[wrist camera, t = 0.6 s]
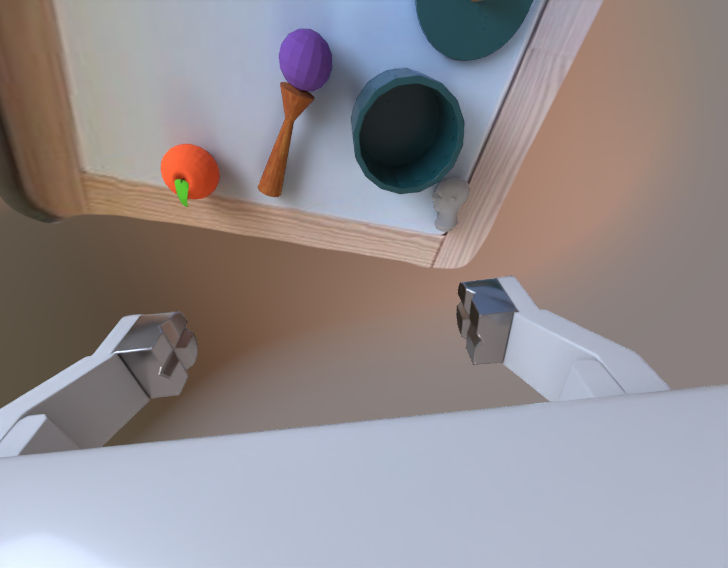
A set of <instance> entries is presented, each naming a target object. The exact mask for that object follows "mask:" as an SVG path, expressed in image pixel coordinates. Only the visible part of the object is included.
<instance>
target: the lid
mask: <svg viewBox="0 0 728 568" xmlns="http://www.w3.org/2000/svg"><path fill="white" fill-rule="evenodd" d="M532 2H533V0H415V5H416V11H417V16H418V20H419V24H420V26H421V28H422V31H423V33H424V35H425V36H426V38H427V40H428V41H429V42H430V43H431V45H432V46H433V47H434V48H435V49H436V50H437V51H439V52H440V53H442V54H443V55H445V56H447V57H449V58H453V59H456V60H464V61H465V60H475V59H480V58H482V57H485V56H487V55H489V54H491V53H493V52H495V51H496V50H498V49H499V48H501V47H502V46H503V45H504V44H505V43H507V42H508V40H509V39H510V38H511V37H512V36H513V35H514V34H515V33H516V31H517V30H518V29H519V27H520V26H521V24H522V23H523V21H524V19H525V17H526V15H527V13H528V11H529V9H530V7H531V4H532Z"/></svg>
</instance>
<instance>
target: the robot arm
mask: <svg viewBox="0 0 728 568" xmlns="http://www.w3.org/2000/svg"><path fill="white" fill-rule="evenodd" d="M458 295H459V297H460V300H461V302H460V303H459V304H458V305H457V313H456V315H457V324H458V328H459V331H460V334H461V336H462V337H463V338H465V339H466V340H467V342H466V349H467V351H468V354H469V356H470V359H471V361H472V363H473V365H478V364H490V363H503V364H504V365H505V366H507V367H508V368H509V369H510V370H512V371H513V372H514V373H515V374H516V375H518V376H519V377H520V378H521V379H523V380H524V381H525V382H526V383H528V384H529V385H530V386H532V387H533V388H534V389H535V390H536V391H538V392H539V393H540V394H542V395H543V396H544V397H545V398H546V399H548V400H549V401H550V402H547V403H537V404H527V405H517V406H507V407H497V408H487V409H479V410H468V411H458V412H448V413H438V414H429V415H418V416H408V417H398V418H388V419H378V420H368V421H358V422H348V423H339V424H328V425H319V426H308V427H299V428H289V429H279V430H269V431H259V432H249V433H239V434H229V435H220V436H210V437H200V438H191V439H181V440H170V441H160V442H150V443H140V444H131V445H121V446H111V447H102V446H103V445H104V444H105V443H106V442H107V441H108V440H109V439H110V438H111V437H112V436H113V435H114V434H115V433H116V432H117V431H118V430H119V429H120V428H122V427H123V425H125V424H126V423H127V422H128V421H129V420H130V419H131V418H132V417H133V416H134V415H135V414H136V413H137V412H138V411H139V410H140V409H141V408H142V407H143V406H144V405H145V404H146V403H147V402H148V401H149V400H150V398H158V397H166V396H173V395H180V393H181V391H182V389H183V386H184V384H185V382H186V380H187V378H188V374H187V372H186V370H187V369H188V368H189V367H191V366H192V365H193V364H194V362H195V360H196V358H197V352H198V344H197V340H196V337H195V335H194V333H192V332H191V331H189V330H188V329H186V328H185V327H186V324H187V320H186V318H185V316H184V315H183V313H181V312H178V311H174V312H162V313H149V314H139V315H129V316H126V317H123V318H122V319H121V320H120V321H119V323H118V324H117V325H116V327H115V328H114V329H113V330H112V331H111V333H110V334H109V335H108V336H107V338H106V339H105V340H104V341H103V343H102V344H101V345H100V346H99V348H98V349H97V350H96V352H95V353H94V354H93V355H92V356H88V357H85V358H83V359H82V360H80V361H78V362H77V363H75V364H73V365H72V366H70V367H69V368H67V369H65V370H64V371H62V372H60V373H59V374H57V375H55V376H54V377H52V378H51V379H49V380H47V381H46V382H44V383H42V384H41V385H39V386H37V387H36V388H34V389H33V390H31V391H29V392H27V393H26V394H24V395H23V396H21V397H19V398H18V399H16V400H14V401H13V402H11V403H9V404H8V405H6V406H5V407H3V408H1V409H0V568H728V384H725V385H715V386H705V387H696V388H686V389H676V390H672V389H670V387H669V386H668V385H667V384H666V383H665V382H664V381H663V380H662V379H661V378H660V377H659V376H658V375H657V374H656V373H655V372H654V370H653V369H652V368H651V367H650V366H649V365H648V364H647V363H646V362H645V361H644V360H643V359H642V358H641V357H640V356H639V355H638V354H637V353H636V352H634V351H632V350H630V349H628V348H626V347H623V346H621V345H619V344H617V343H615V342H613V341H611V340H609V339H606V338H604V337H602V336H600V335H598V334H596V333H594V332H592V331H590V330H587V329H585V328H583V327H581V326H579V325H577V324H575V323H573V322H571V321H568V320H566V319H564V318H562V317H560V316H558V315H556V314H553V313H551V312H549V311H547V310H539V308H538V307H537V306H536V304H535V303H534V302H533V300H532V299H531V298H530V297H529V295H528V294H527V292H526V291H525V290H524V288H523V287H522V286H521V284H520V283H519V282H518V280H517V279H516V278H515V277H513V276H505V277H499V278H494V279H486V280H476V281H467V282H460V284H459V288H458Z"/></svg>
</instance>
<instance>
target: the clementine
mask: <svg viewBox="0 0 728 568" xmlns="http://www.w3.org/2000/svg"><path fill="white" fill-rule="evenodd" d="M161 173H162V178H163V180H164V182H165V184H166V185H167V186H168V187H169V189H171V190H172V191H173V192H174V193H175V194H177V195H178V197H179V199H180V201H181V203H182V204H183V205H184V206H186V207H189V206H187V199H201V198H204V197H206V196H208V195H210V194H211V193H212V192H213V191H214V190H215V189H216V187H217V185H218V183H219V178H220V173H219V168H218V166H217V163H216V161H215V160H214V158H213V157H212V156H211V155H210V154H209V153H208V152H207V151H206V150H204V149H202V148H201V147H198V146H195V145H192V144H182V145H177V146H175V147H173V148H171V149H170V150H169V151H168V152H167V153H166V154H165V155H164V157H163V159H162V162H161Z"/></svg>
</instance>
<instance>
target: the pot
mask: <svg viewBox="0 0 728 568" xmlns="http://www.w3.org/2000/svg"><path fill="white" fill-rule="evenodd" d="M464 124H465V123H464V119H463V116H462V113H461V110H460V106H459V103H458V101H457V99H456V98H455V97H454V96H453V95H452V94H451V93H450V92H449V91H448V89H447V88H446V87H445V86H444V85H443V84H442V83H440V82H438V81H436V80H434V79H432V78H430V77H428V76H426V75H424V74H421V73H418V72H416V71H413V70H410V69H408V68H403V69H393V70H387V71H385V72H383V73H381V74H379V75H377V76H376V77H374V78H373V79H372V80H370V81H369V82H368V83H367V84H366V85H365V87H364V88H363V89H362V91H361V92H360V94H359V95H358V97H357V98H356V101H355V105H354V108H353V113H352V116H351V125H352V134H353V143H354V151H355V157H356V160H357V162H358V164H359V165H360V167H361V169H362V171H363V173H364V175H365V176H366V177H367V178H368V179H369V180H371V181H372V182H373V183H374V184H376V185H377V186H378V187H379V188H381V189H384V190H387V191H391V192H394V193H398V194H406V193H415V192H420V191H422V190H424V189H426V188H428V187H430V186H432V185H434V184H436V183H438V182H439V181H440V180H441V179H442V178H443V177H444V176H445V175H446V174H447V173H448V172H449V171H450V170H451V169H452V168H453V166H454V164H455V162H456V160H457V157H458V155H459V153H460V151H461V149H462V145H463V137H464Z"/></svg>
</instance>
